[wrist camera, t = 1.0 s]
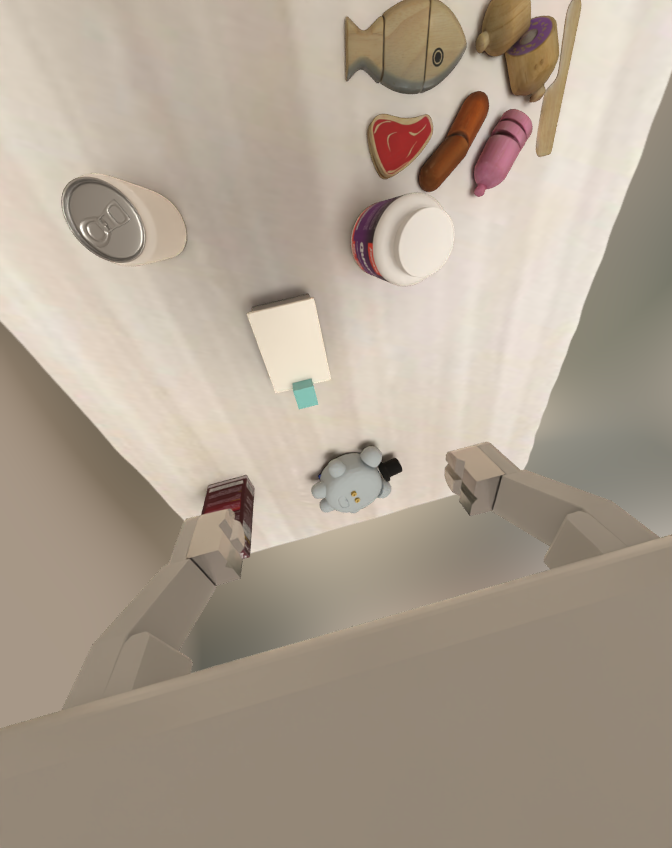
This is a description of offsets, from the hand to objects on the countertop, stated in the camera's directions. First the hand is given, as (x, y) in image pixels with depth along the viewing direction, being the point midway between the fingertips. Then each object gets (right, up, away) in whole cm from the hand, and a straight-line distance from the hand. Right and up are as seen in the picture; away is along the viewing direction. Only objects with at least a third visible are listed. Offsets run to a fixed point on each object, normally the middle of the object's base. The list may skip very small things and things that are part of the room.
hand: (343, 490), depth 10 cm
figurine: (+4, -8, +52) cm, 53 cm away
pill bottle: (+5, +28, +26) cm, 39 cm away
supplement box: (-23, -11, +48) cm, 54 cm away
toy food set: (+14, +39, +21) cm, 46 cm away
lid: (-6, +13, +29) cm, 33 cm away
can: (-21, +26, +21) cm, 40 cm away
